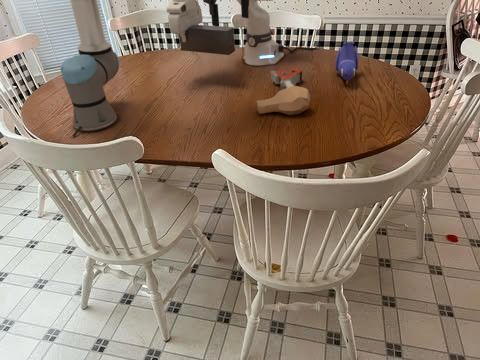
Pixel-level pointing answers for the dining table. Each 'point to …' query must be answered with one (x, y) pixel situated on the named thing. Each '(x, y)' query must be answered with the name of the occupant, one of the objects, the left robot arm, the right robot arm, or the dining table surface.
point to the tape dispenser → (287, 77)
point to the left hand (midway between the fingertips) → (230, 21)
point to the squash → (286, 101)
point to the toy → (347, 61)
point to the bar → (209, 39)
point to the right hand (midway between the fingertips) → (189, 39)
